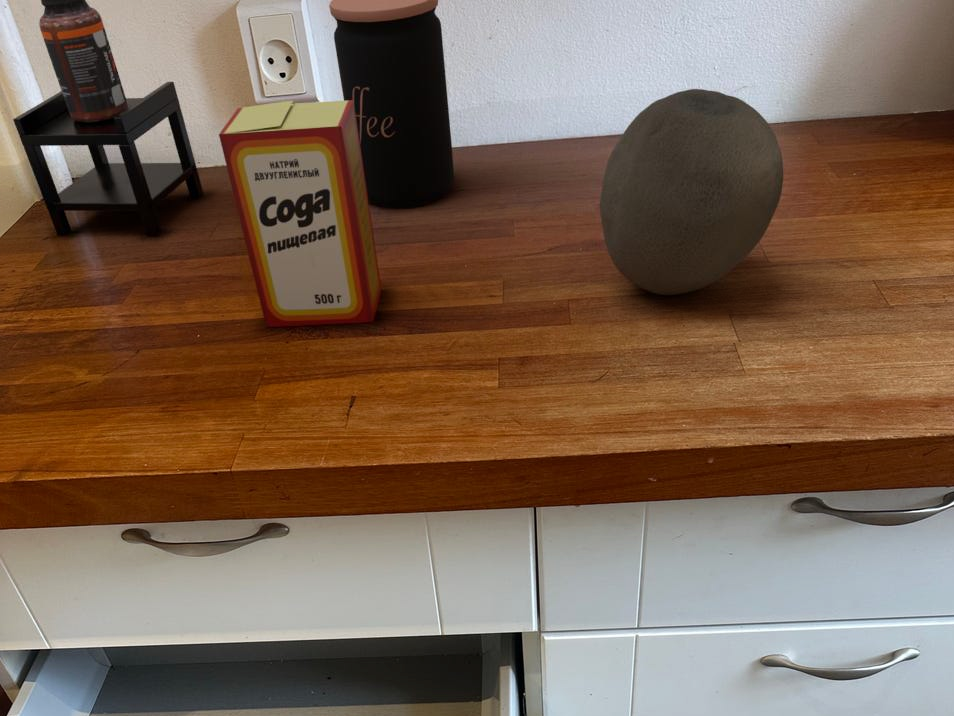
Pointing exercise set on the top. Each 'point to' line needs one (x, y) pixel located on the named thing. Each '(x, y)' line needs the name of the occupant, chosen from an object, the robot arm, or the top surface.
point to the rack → (107, 181)
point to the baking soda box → (304, 211)
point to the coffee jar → (396, 97)
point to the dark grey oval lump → (689, 190)
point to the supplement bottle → (82, 60)
